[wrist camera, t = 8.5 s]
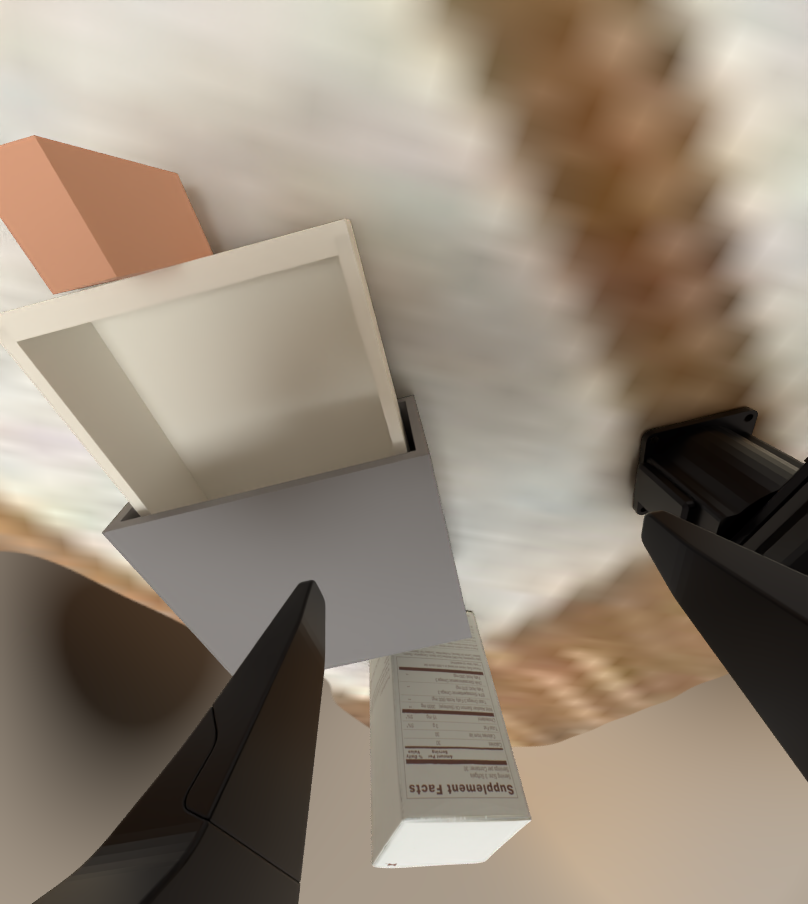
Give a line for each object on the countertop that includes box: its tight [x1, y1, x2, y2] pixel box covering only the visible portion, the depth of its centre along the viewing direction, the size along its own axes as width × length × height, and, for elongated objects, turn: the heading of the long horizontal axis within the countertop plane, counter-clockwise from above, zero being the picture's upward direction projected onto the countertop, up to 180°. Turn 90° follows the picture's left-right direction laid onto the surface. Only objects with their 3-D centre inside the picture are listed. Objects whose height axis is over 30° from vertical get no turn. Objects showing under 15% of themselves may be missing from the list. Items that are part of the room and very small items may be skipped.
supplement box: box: [369, 612, 531, 868], centre depth 26 cm, size 7×7×13 cm
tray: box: [0, 135, 411, 517], centre depth 15 cm, size 12×15×8 cm
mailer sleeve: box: [102, 395, 472, 676], centre depth 21 cm, size 14×13×6 cm
